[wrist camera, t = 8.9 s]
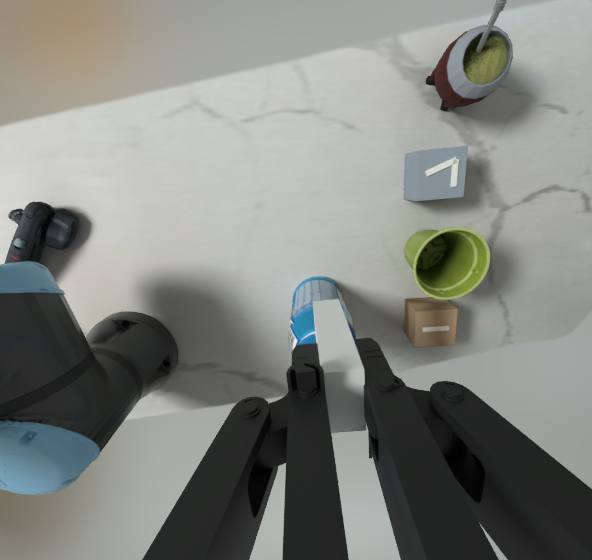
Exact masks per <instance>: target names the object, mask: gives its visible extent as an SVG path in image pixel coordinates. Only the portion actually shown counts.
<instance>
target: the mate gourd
mask: <svg viewBox="0 0 592 560" xmlns="http://www.w3.org/2000/svg"><path fill="white" fill-rule="evenodd" d="M506 1H507V0H496V3H495V6H494V9H493V10H494V12H493V14H492V16H491V18H490V20H489V22H488V25H482V26H479V27H476V28H473V29H470V30H469V31H466V32H465V33H463V34H462V35H461V36H460V37H459V38H457V39H456V40H455V41H454V42H452V43H451V44H450V45H449V47H448V48H447V49H446V51H445V52H444V54H443V56H442V57H441V59H440V60H439V62H438V64H437V66H436V68H435V69H434V71H433V72H432V74H431V76H428V77H427V79H426V84H429V85H435V86H436V90H437V92H438V94H439V96H440V98H441V99H443V100H442V104H441V110H444V111H445V110H447V109H448V108H455V107H461V106H466V105H469V104H472V103H476V102H479V101H481V100H482V99H484V98H485V97H486V96H488V95H489V94H490V93H492V92H493V91H494V90H495V89H496V88H497V87H499V86H500V84H501V83H502V81H503V80H504V78H505V77H506V75H507V74H508V71H509V68H510V65H511V61H512V58H513V52H512V43H511V41H510V39H509V37H508V35H507V33H505V32H504V31H503V30H501V29H500V28H498V27H497V26H493V25H494V23H495V21H496V19H497V17H498V15H499V13H500V12H501V11H502V10H503V8H504V6H505V3H506Z"/></svg>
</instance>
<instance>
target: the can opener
mask: <svg viewBox="0 0 592 560" xmlns="http://www.w3.org/2000/svg"><path fill="white" fill-rule="evenodd" d="M8 217H9V218H10V219H12V221H15V222H16V223H17V224H18V228H17V230H16V233H15V235H14V237H13V240H12V242H11V245H10V248H9V251H8V254H7V257H6V261H5V264H9V263H16V262H25V261H31V262H37V263H39V259H40V256H41V252H42V249H43V246H44V244H45V242H46V245H47V246H50V247H53V248H56V249H59V250H64V249H65V248H67V247H68V245H69V244H70V243H71V242H72V240H73V238H74V236H75V233H76V230H77V224H78V221H77V218H76V217H75V216H74V215H72V214H71V213H69V212H68V211H67V210H65V209H61V210H59V211H58V212H57V213H56V212H55V210H54V209H53V208H52V207H51V206H50V205H48V204H46V203H43V202H31V203H29V204H28V205H27V206H26V208H25V210H22V209H16V210H12V211H11V212H10V213H9V214H8Z"/></svg>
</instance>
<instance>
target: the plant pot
mask: <svg viewBox="0 0 592 560" xmlns="http://www.w3.org/2000/svg"><path fill="white" fill-rule="evenodd" d="M436 236H437V237H438V238H439V240H437V239H436V238H434V237H436ZM424 249H427V251H426V252H425V251H424ZM437 255H439V257H438V259H437V260H436V261H434V262H432V260H433V259H434V258H436V256H437ZM405 257H406V260H407V262H408V263H409V265H410V266H411V268H412V269H413V275H414V279H415V282H416V284H417V285H418V287H419V288H420V289H421V290H422V291H423V292H424V293H425V294H427V295H429V296H431V297H433V298H436V299H441V300H449V299H455V298H459V297H461V296H464V295H466V294H468V293H469V292H471V291H472V290H473V289H474V288H476V287H477V286H478V285H479V284H480V282H481V281H482V280H483V278H484V277H485V275H486V273H487V271H488V268H489V264H490V250H489V247H488V244H487V242H486V241H485V239H484V238H483V237H482V236H481V235H480V234H478V233H477V232H475V231H473V230H471V229H467V228H461V227H454V228H447V229H444V230H441V231H437V230H424V231H420V232H417V233H416V234H414V235H413V236H412V237H411V238H410V239H409V240H408V242H407V244H406V247H405ZM417 263H418V264H417Z"/></svg>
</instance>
